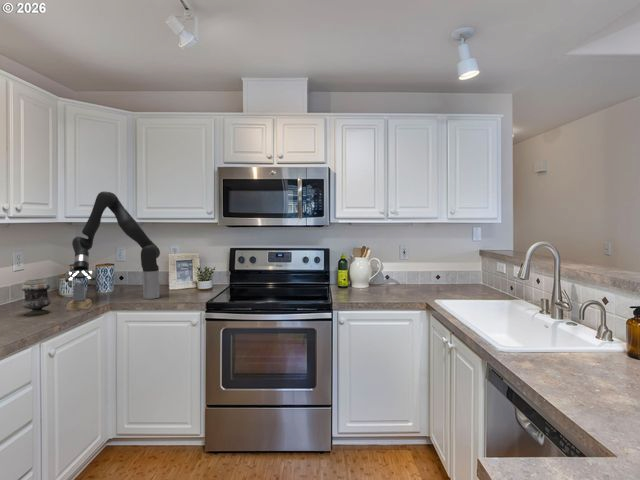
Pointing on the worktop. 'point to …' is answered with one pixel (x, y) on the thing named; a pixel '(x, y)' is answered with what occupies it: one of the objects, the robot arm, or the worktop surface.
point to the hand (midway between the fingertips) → (79, 286)
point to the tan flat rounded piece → (78, 305)
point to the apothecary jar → (36, 296)
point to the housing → (79, 292)
